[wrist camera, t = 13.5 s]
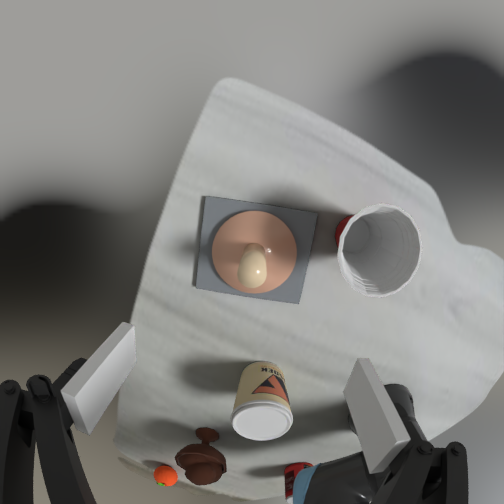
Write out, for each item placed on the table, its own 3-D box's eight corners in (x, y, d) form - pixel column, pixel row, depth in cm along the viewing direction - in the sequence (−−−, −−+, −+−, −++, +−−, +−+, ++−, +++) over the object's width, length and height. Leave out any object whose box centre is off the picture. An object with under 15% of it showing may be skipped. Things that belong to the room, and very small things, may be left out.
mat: (316, 213, 38) (317, 213, 38) (298, 302, 42) (298, 304, 41) (207, 195, 38) (205, 196, 38) (196, 286, 42) (195, 288, 41)
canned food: (316, 470, 54) (320, 500, 44) (288, 476, 55) (289, 506, 44) (311, 459, 53) (315, 492, 42) (281, 465, 54) (282, 497, 43)
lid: (302, 217, 38) (316, 229, 28) (287, 296, 41) (294, 328, 31) (218, 204, 38) (203, 211, 28) (209, 284, 41) (193, 313, 31)
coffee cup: (298, 374, 45) (306, 421, 34) (264, 401, 47) (264, 447, 36) (259, 348, 44) (258, 396, 32) (226, 378, 46) (217, 425, 34)
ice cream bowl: (176, 421, 50) (159, 472, 36) (222, 418, 49) (213, 474, 34) (194, 446, 52) (183, 493, 38) (237, 444, 51) (232, 495, 37)
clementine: (169, 474, 58) (164, 491, 51) (151, 464, 57) (145, 481, 50) (184, 470, 56) (179, 488, 49) (164, 459, 55) (158, 478, 48)
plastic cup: (349, 182, 37) (383, 182, 26) (395, 230, 39) (437, 247, 27) (302, 237, 39) (318, 259, 28) (351, 281, 41) (380, 315, 29)
